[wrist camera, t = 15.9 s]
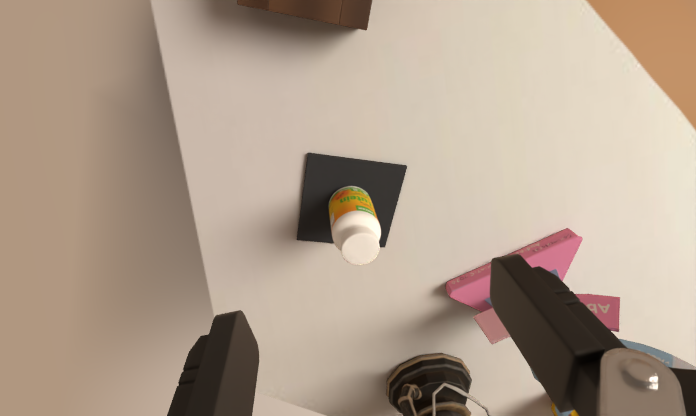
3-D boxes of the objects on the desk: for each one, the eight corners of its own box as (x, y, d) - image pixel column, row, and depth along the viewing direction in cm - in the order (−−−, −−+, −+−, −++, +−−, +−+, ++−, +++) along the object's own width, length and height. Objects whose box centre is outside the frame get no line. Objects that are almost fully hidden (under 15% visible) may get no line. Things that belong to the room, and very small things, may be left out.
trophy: (572, 225, 49) (871, 459, 23) (585, 298, 57) (820, 533, 31) (443, 283, 52) (582, 550, 26) (473, 345, 60) (602, 597, 34)
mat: (297, 238, 45) (296, 240, 45) (307, 152, 40) (308, 153, 39) (384, 245, 47) (384, 247, 47) (406, 165, 42) (407, 166, 42)
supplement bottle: (372, 184, 42) (389, 226, 34) (369, 222, 45) (384, 270, 36) (328, 184, 42) (335, 227, 33) (327, 222, 44) (333, 271, 36)
